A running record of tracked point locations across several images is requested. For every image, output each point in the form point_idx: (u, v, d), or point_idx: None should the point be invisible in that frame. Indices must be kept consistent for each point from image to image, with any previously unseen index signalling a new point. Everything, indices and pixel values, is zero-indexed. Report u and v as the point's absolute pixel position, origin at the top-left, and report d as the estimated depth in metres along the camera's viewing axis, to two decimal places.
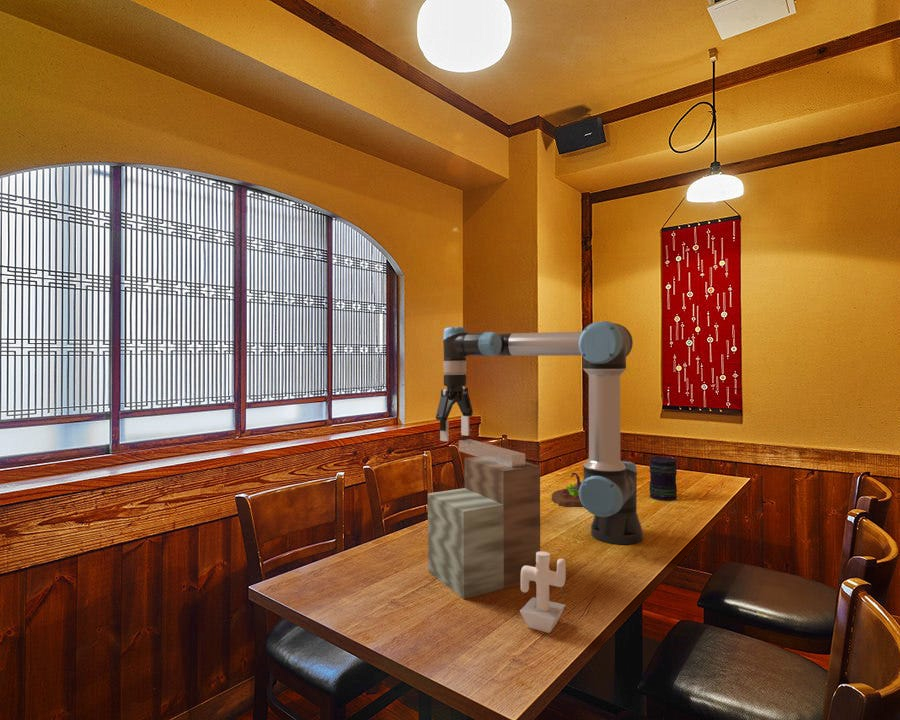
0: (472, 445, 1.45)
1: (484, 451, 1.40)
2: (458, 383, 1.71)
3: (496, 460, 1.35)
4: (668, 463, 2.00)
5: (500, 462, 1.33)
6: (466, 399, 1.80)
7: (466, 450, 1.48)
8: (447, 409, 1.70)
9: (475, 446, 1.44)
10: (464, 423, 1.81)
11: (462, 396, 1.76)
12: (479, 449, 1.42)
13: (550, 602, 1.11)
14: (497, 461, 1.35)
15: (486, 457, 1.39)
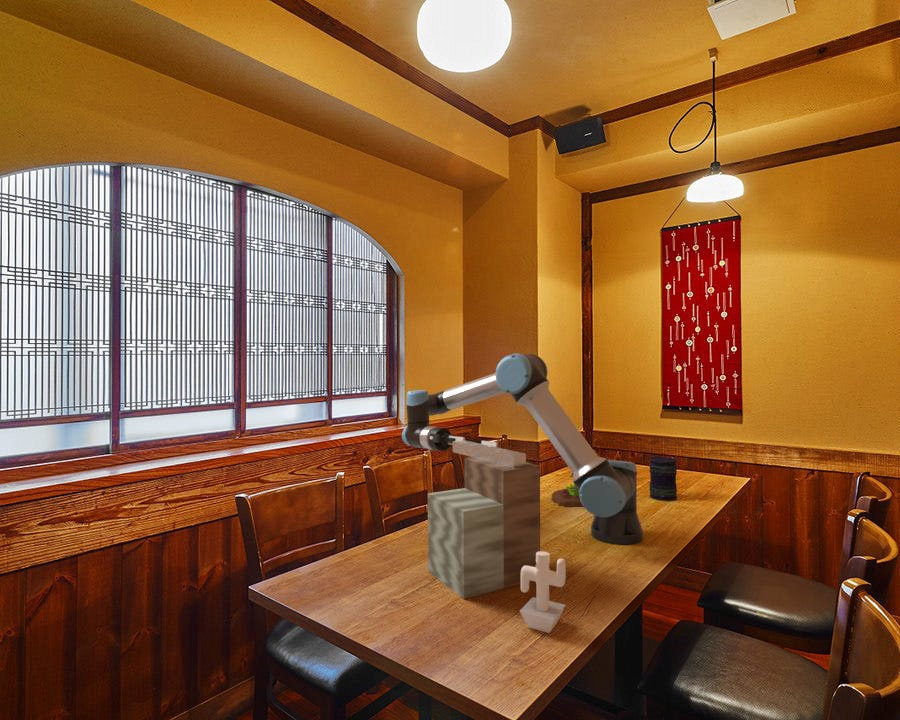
0: (468, 446, 1.44)
1: (482, 451, 1.39)
2: (437, 429, 1.70)
3: (495, 460, 1.34)
4: (668, 463, 2.00)
5: (500, 462, 1.33)
6: None
7: (461, 451, 1.46)
8: None
9: (471, 447, 1.43)
10: None
11: (456, 436, 1.69)
12: (476, 449, 1.41)
13: (550, 602, 1.11)
14: (497, 461, 1.34)
15: (484, 458, 1.38)
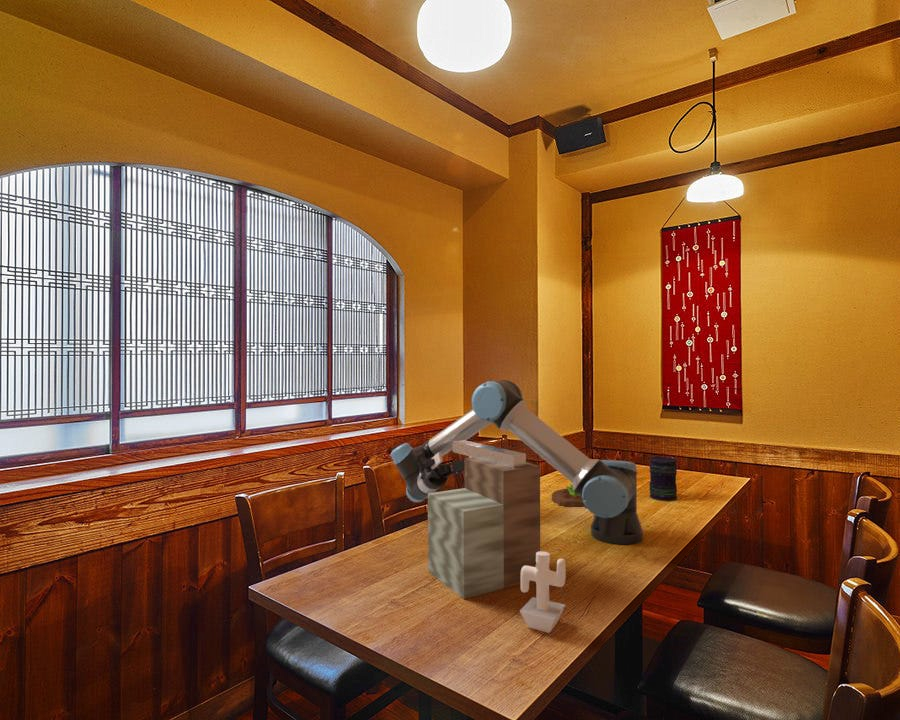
0: (468, 446, 1.44)
1: (482, 451, 1.39)
2: None
3: (495, 460, 1.34)
4: (668, 463, 2.00)
5: (500, 462, 1.33)
6: None
7: (461, 451, 1.46)
8: None
9: (471, 447, 1.43)
10: None
11: (446, 464, 1.66)
12: (476, 449, 1.41)
13: (550, 602, 1.11)
14: (497, 461, 1.34)
15: (484, 458, 1.38)
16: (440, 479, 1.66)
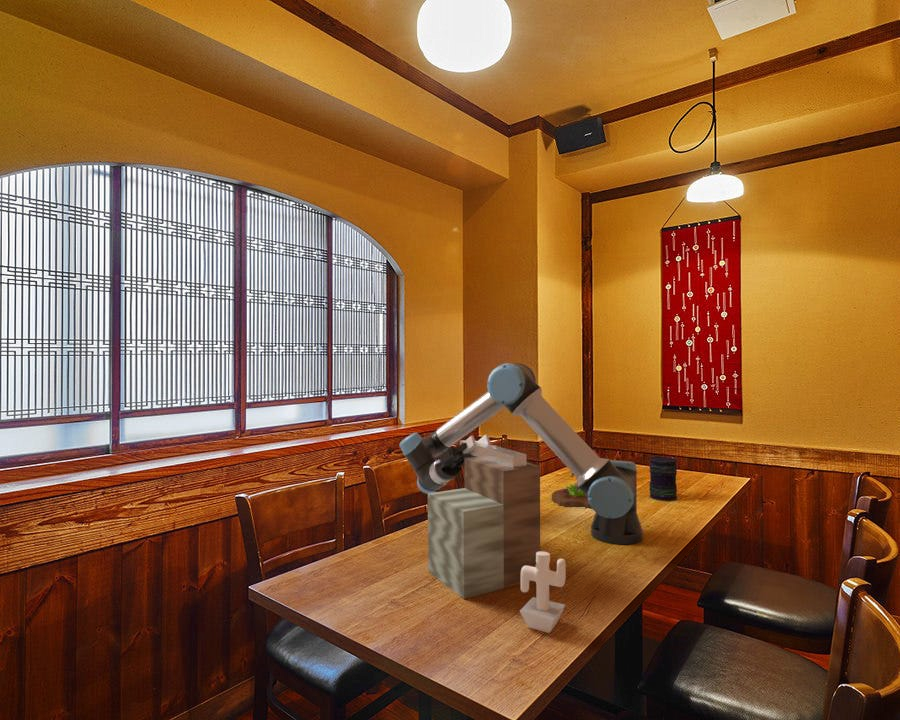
0: None
1: (485, 451, 1.39)
2: None
3: (497, 460, 1.34)
4: (668, 463, 2.00)
5: (501, 462, 1.33)
6: None
7: None
8: None
9: (476, 446, 1.43)
10: None
11: None
12: (480, 449, 1.42)
13: (550, 602, 1.11)
14: (498, 461, 1.34)
15: (487, 457, 1.39)
16: (454, 469, 1.59)
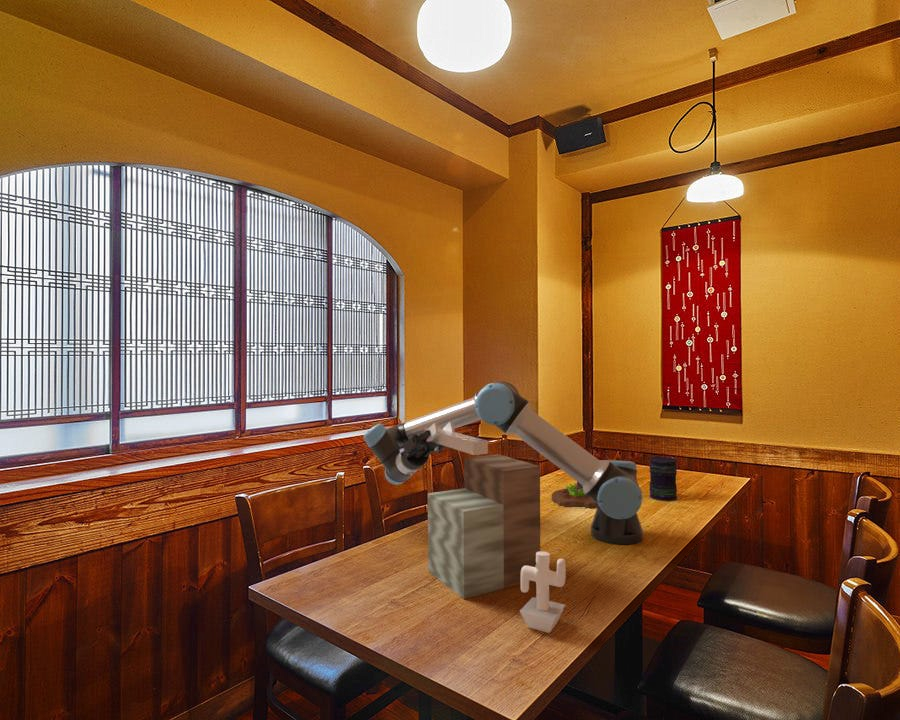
0: None
1: (447, 438, 1.34)
2: None
3: (458, 448, 1.29)
4: (668, 463, 2.00)
5: (462, 450, 1.28)
6: None
7: None
8: None
9: (439, 434, 1.38)
10: None
11: None
12: (443, 436, 1.36)
13: (550, 602, 1.11)
14: (459, 449, 1.29)
15: (449, 445, 1.33)
16: (420, 458, 1.54)
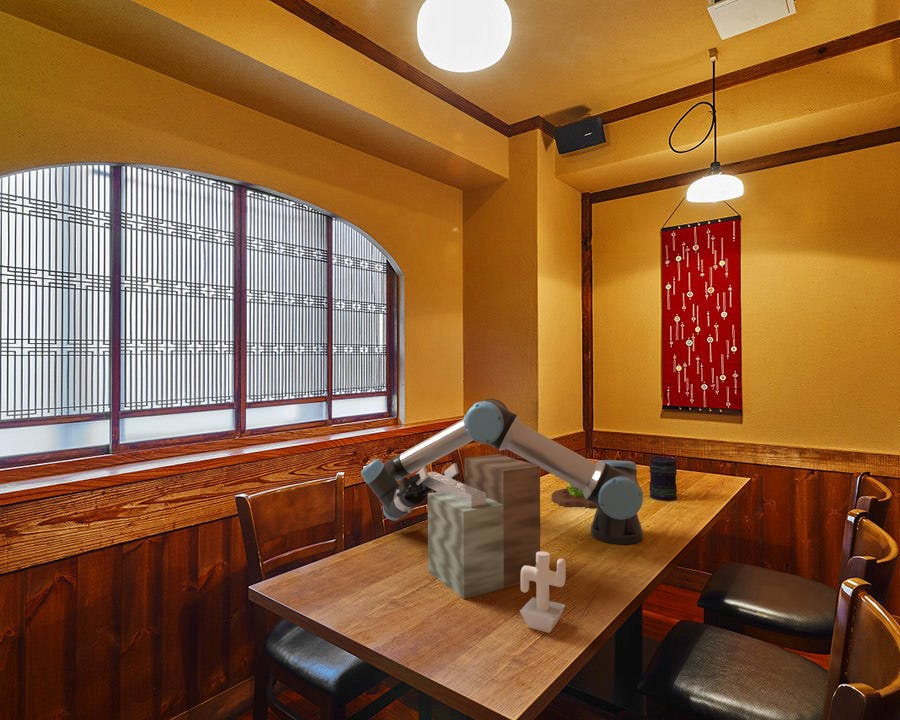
0: (434, 480, 1.39)
1: (445, 487, 1.34)
2: None
3: (456, 498, 1.29)
4: (668, 463, 2.00)
5: (460, 501, 1.27)
6: None
7: (429, 484, 1.42)
8: None
9: (437, 481, 1.38)
10: (449, 473, 1.45)
11: None
12: (440, 484, 1.36)
13: (550, 602, 1.11)
14: (457, 499, 1.28)
15: (447, 494, 1.33)
16: (418, 497, 1.54)
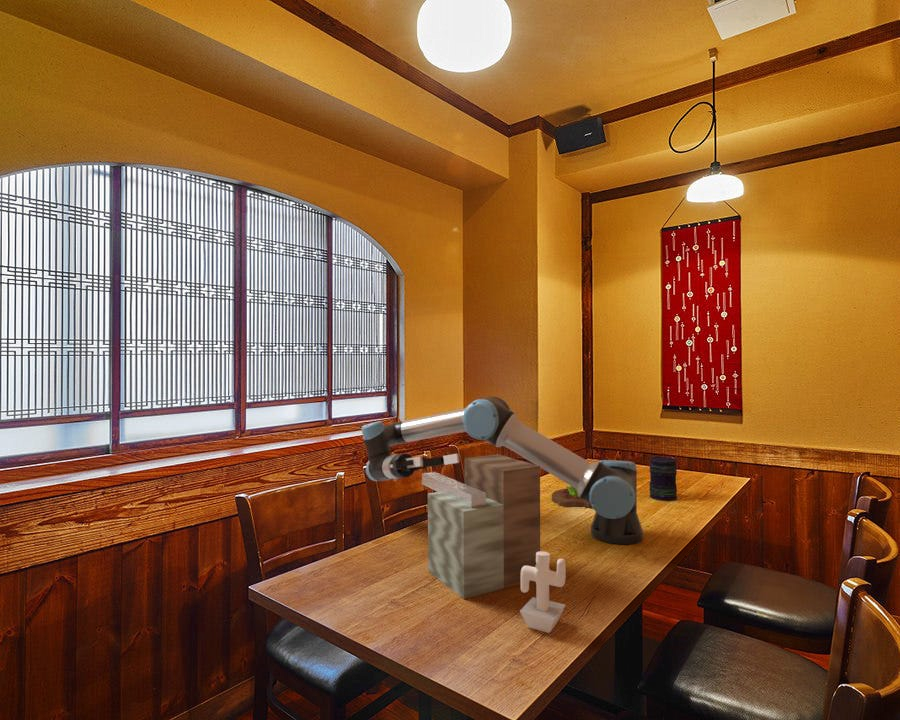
0: (434, 480, 1.39)
1: (445, 487, 1.34)
2: (396, 456, 1.65)
3: (456, 498, 1.29)
4: (668, 463, 2.00)
5: (460, 501, 1.27)
6: None
7: (429, 484, 1.42)
8: None
9: (437, 481, 1.38)
10: (448, 459, 1.59)
11: None
12: (440, 484, 1.36)
13: (550, 602, 1.11)
14: (457, 499, 1.28)
15: (447, 494, 1.33)
16: (408, 470, 1.65)
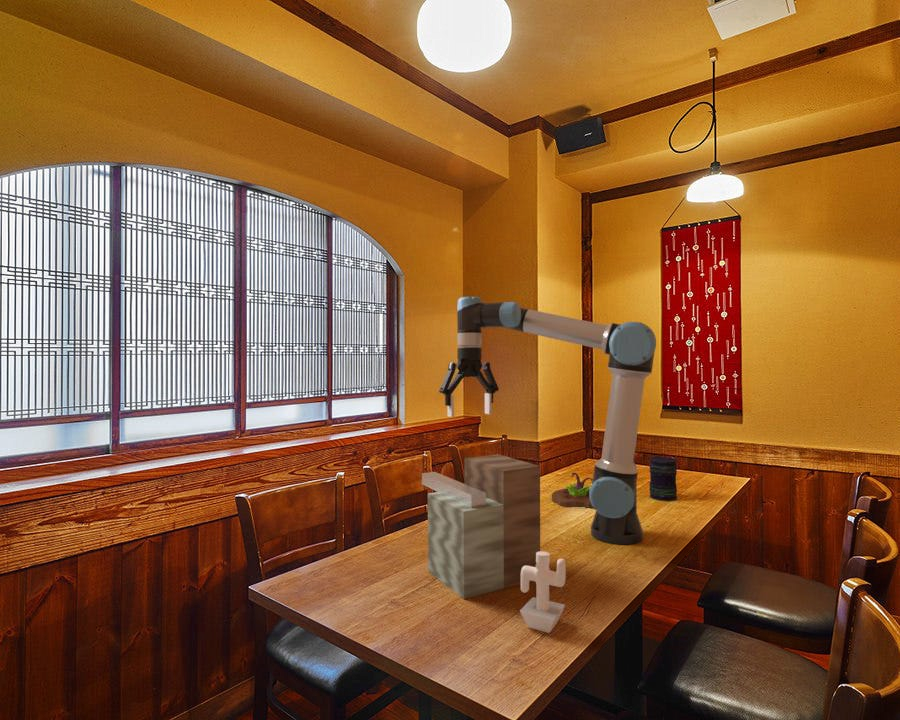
0: (434, 480, 1.39)
1: (445, 487, 1.34)
2: (467, 356, 1.61)
3: (456, 498, 1.29)
4: (668, 463, 2.00)
5: (460, 501, 1.27)
6: (488, 375, 1.67)
7: (429, 484, 1.42)
8: (453, 383, 1.61)
9: (437, 481, 1.38)
10: (486, 401, 1.68)
11: (478, 371, 1.64)
12: (440, 484, 1.36)
13: (550, 602, 1.11)
14: (457, 499, 1.28)
15: (447, 494, 1.33)
16: None
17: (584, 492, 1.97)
